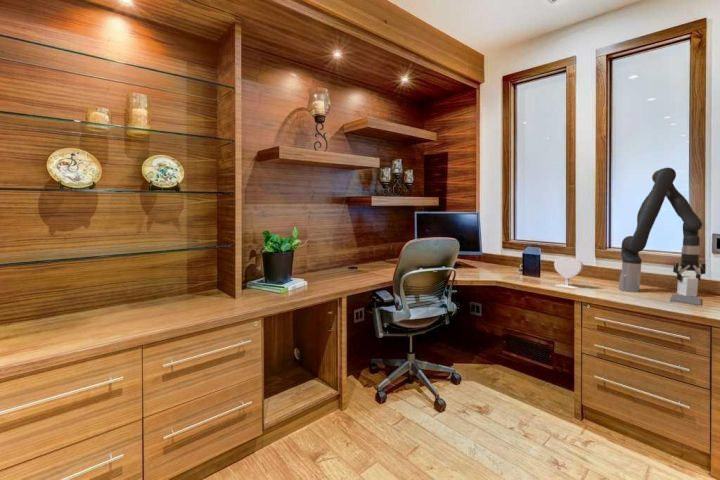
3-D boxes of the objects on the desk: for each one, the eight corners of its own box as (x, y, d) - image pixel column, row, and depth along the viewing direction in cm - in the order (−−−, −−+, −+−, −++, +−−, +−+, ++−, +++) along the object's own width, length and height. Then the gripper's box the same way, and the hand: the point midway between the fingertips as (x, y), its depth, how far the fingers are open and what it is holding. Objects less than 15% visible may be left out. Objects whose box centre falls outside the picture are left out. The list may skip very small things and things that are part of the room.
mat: (700, 305, 184) (700, 304, 184) (669, 301, 192) (670, 299, 192) (700, 299, 197) (701, 297, 197) (672, 295, 205) (672, 294, 205)
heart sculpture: (581, 288, 223) (583, 259, 221) (579, 289, 219) (581, 260, 217) (555, 283, 234) (556, 256, 232) (552, 285, 231) (554, 257, 229)
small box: (697, 296, 202) (698, 278, 201) (685, 296, 203) (687, 278, 202) (687, 293, 210) (688, 276, 209) (676, 293, 211) (677, 275, 210)
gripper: (679, 253, 203) (677, 281, 204) (709, 254, 199) (707, 282, 200) (671, 252, 210) (670, 279, 212) (701, 252, 206) (699, 280, 208)
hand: (688, 280), depth 206 cm, fingers open, 8 cm apart
